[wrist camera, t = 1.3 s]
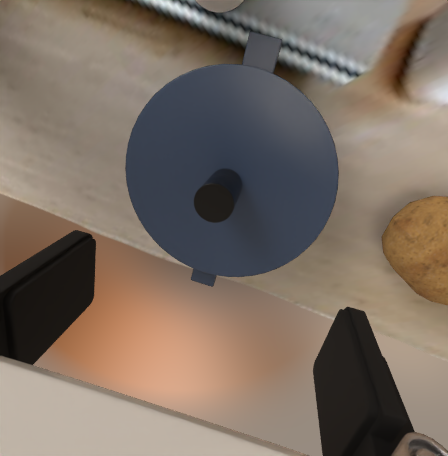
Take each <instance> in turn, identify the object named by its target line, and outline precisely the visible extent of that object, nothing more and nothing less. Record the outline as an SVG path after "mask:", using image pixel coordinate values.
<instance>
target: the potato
mask: <svg viewBox="0 0 448 456" xmlns="http://www.w3.org/2000/svg"><path fill="white" fill-rule="evenodd" d="M382 244H383V253H384V255H385V256H386V258H387V260H388V261H389V263H390V265H391V266H392V267H393V269H394V270H395V271H396V272H397V273H398V274H399V275H400V276H401V277H402V278H403V279H404V280H405V282H406V283H407V284H408V285H409V286H410V287H411V288H412V289H413V290H414V291H415V292H416V293H417V294H419V295H421V296H422V297H424V298H426V299H428V300H430V301H432V302H436V303H440V304H445V305H448V197H441V196H431V197H428V198H424V199H421V200H417V201H414V202H410V203H409V204H408V205H407V206H405V207H404V208H403V209H402V210H401V211H399V212H398V213H397V214H396V215H395V216H394V217H393V218H392V220H391V222H390V223H389V225H388V227H387V228H386V230H385V232H384V234H383V235H382Z"/></svg>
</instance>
